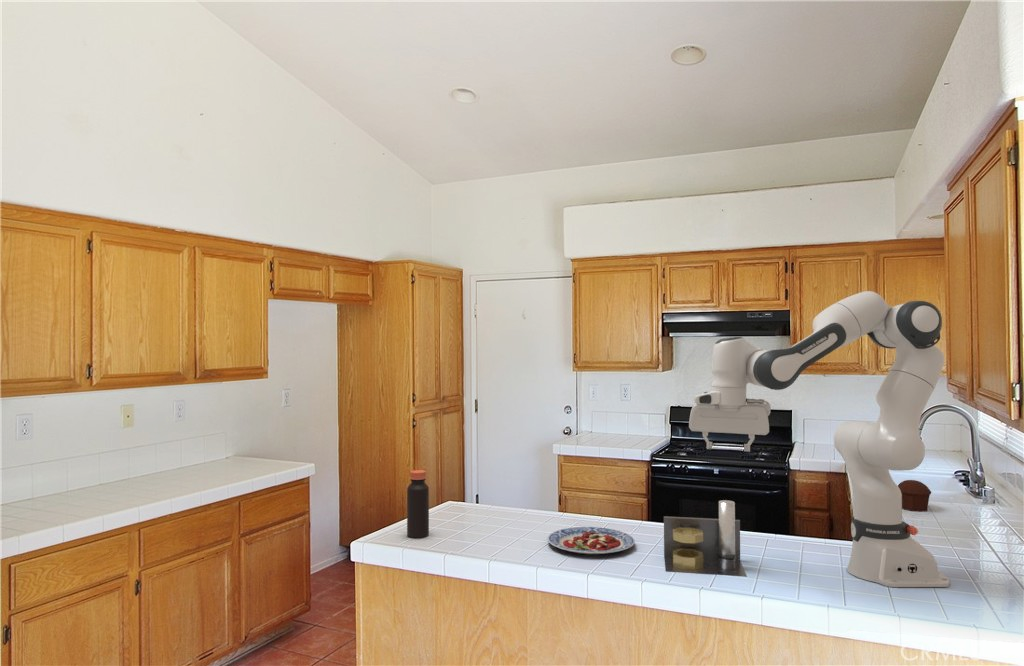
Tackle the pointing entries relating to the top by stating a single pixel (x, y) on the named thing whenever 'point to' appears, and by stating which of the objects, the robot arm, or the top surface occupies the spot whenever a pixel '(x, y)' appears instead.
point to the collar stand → (697, 546)
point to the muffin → (914, 495)
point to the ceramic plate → (591, 540)
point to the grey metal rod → (727, 534)
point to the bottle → (417, 505)
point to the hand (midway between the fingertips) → (728, 450)
